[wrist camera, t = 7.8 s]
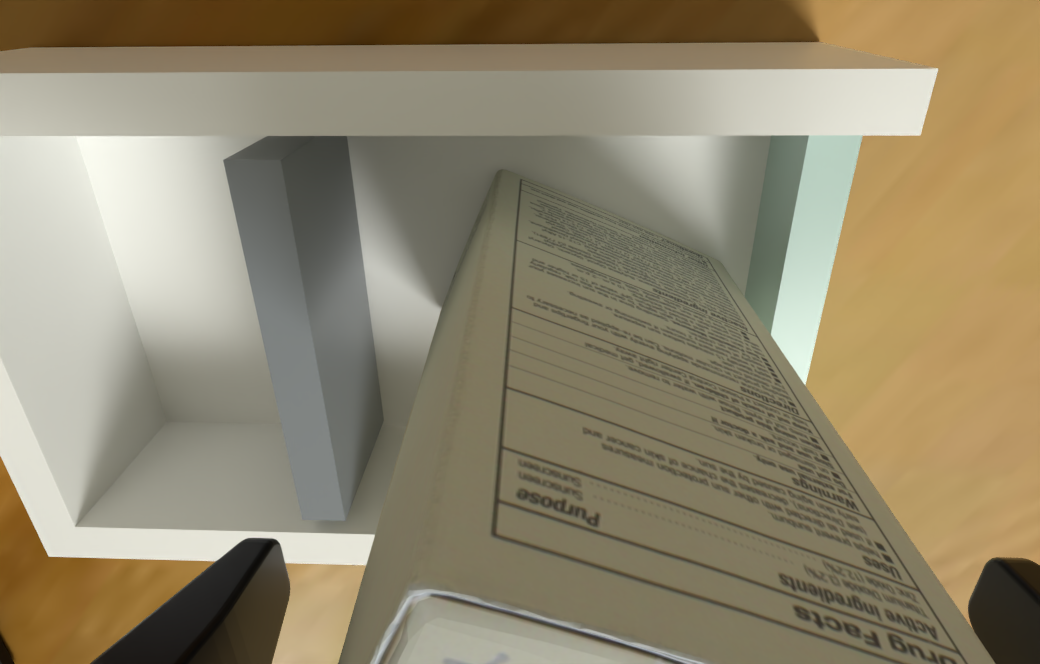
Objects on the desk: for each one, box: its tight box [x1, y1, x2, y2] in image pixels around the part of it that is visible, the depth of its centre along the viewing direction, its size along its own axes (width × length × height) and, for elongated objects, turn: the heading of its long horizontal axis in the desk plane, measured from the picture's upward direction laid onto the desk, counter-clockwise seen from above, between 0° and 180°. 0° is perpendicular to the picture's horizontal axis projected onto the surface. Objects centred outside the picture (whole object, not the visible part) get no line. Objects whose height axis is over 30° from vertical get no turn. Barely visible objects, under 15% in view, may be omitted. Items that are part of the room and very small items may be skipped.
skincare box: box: [338, 169, 995, 664], centre depth 11 cm, size 6×4×12 cm
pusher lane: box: [0, 42, 938, 565], centre depth 15 cm, size 18×11×5 cm, turn 91°
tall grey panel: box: [223, 136, 384, 521], centre depth 15 cm, size 1×8×4 cm, turn 1°
